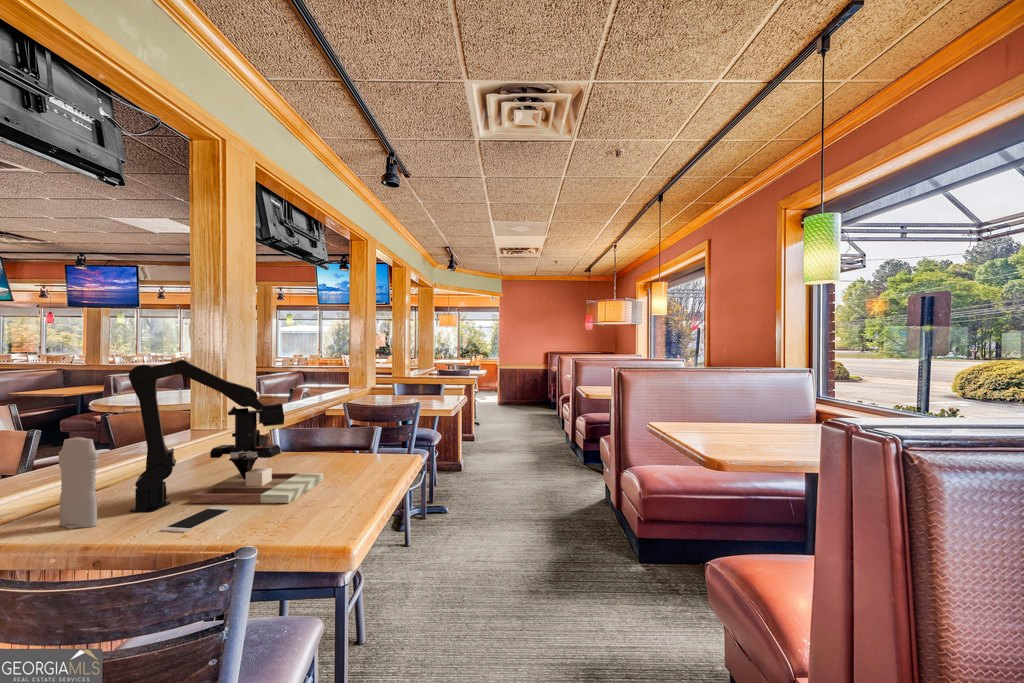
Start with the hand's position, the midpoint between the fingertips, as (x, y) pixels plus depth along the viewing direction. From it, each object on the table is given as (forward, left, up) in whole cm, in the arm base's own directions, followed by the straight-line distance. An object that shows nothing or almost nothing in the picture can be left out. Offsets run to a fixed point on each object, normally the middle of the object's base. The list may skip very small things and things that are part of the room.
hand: (246, 479), depth 133 cm
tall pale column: (-26, +26, -4) cm, 37 cm away
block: (0, -4, -1) cm, 4 cm away
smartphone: (-22, -2, -4) cm, 22 cm away
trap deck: (0, -5, -4) cm, 6 cm away
